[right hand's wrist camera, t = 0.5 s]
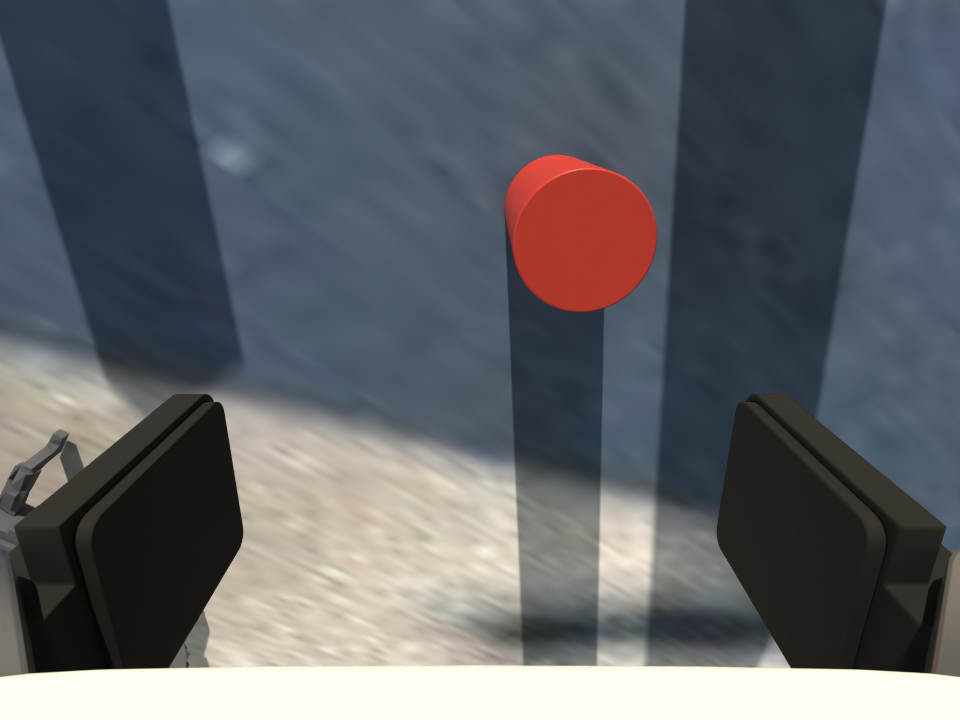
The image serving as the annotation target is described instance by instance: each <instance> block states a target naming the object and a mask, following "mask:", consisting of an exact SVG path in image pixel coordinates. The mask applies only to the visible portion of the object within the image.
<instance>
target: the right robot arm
mask: <svg viewBox="0 0 960 720" xmlns="http://www.w3.org/2000/svg"><path fill="white" fill-rule="evenodd" d="M14 530H15V533H16V536H17V539H18V542H19V544H18V545H17V546H16V547H15V548H14V549H13V550H11V551H10V552H9V553H7V552H6V551H5V550H3V549H0V720H960V549H957V550H955V551H954V552H953V553H951V552H950V551H949V550H947V549H946V548H945V547H944V546H943V545H942V544H941V542H942V539H943V536H944V533H945V530H946V526H945V525H944V524H943V523H941V522H940V521H939V520H938V519H937V518H935V517H934V516H933V515H932V514H930V513H929V512H928V511H927V510H926V509H924V508H923V507H922V506H921V505H920V504H918V503H917V502H916V501H915V500H913V499H912V498H911V497H910V496H909V495H907V494H906V493H905V492H904V491H903V490H901V489H900V488H899V487H898V486H896V485H895V484H894V483H893V482H892V481H890V480H889V479H888V478H887V477H886V476H884V475H883V474H882V473H881V472H879V471H878V470H877V469H876V468H875V467H873V466H872V465H871V464H870V463H869V462H867V461H866V460H865V459H864V458H862V457H861V456H860V455H859V454H858V453H856V452H855V451H854V450H853V449H852V448H850V447H849V446H848V445H847V444H845V443H844V442H843V441H842V440H841V439H839V438H838V437H837V436H836V435H835V434H833V433H832V432H831V431H830V430H828V429H827V428H826V427H825V426H824V425H822V424H821V423H820V422H819V421H818V420H816V419H815V418H814V417H813V416H811V415H810V414H809V413H808V412H807V411H805V410H804V409H803V408H802V407H801V406H799V405H798V404H797V403H796V402H794V401H793V400H792V399H791V398H790V397H788V396H787V395H785V394H753V395H750V396H749V397H748V399H747V401H746V402H741V403H739V404H738V406H737V409H736V413H735V419H734V425H733V432H732V438H731V444H730V450H729V456H728V462H727V469H726V475H725V481H724V487H723V493H722V499H721V505H720V512H719V518H718V524H717V539H718V543H719V546H720V549H721V551H722V552H723V554H724V556H725V557H726V559H727V561H728V562H729V564H730V566H731V567H732V569H733V571H734V572H735V574H736V576H737V578H738V579H739V581H740V583H741V584H742V586H743V588H744V589H745V591H746V593H747V594H748V596H749V598H750V600H751V601H752V603H753V605H754V606H755V608H756V610H757V611H758V613H759V615H760V616H761V618H762V620H763V621H764V623H765V625H766V627H767V628H768V630H769V632H770V633H771V635H772V637H773V638H774V640H775V642H776V643H777V645H778V647H779V648H780V650H781V652H782V654H783V655H784V657H785V659H786V660H787V662H788V664H789V665H790V667H791V668H749V667H696V666H486V665H474V666H264V667H211V668H169V667H170V665H171V664H172V662H173V660H174V659H175V657H176V655H177V654H178V652H179V650H180V648H181V647H182V645H183V643H184V642H185V640H186V638H187V637H188V635H189V633H190V632H191V630H192V628H193V626H194V625H195V623H196V621H197V620H198V618H199V616H200V615H201V613H202V611H203V610H204V608H205V606H206V605H207V603H208V601H209V599H210V598H211V596H212V594H213V593H214V591H215V589H216V588H217V586H218V584H219V583H220V581H221V579H222V578H223V576H224V574H225V572H226V571H227V569H228V567H229V566H230V564H231V562H232V561H233V559H234V557H235V556H236V554H237V552H238V550H239V549H240V546H241V543H242V539H243V524H242V518H241V512H240V506H239V499H238V493H237V487H236V481H235V475H234V469H233V462H232V456H231V450H230V444H229V438H228V432H227V425H226V419H225V413H224V409H223V406H222V404H221V403H219V402H214V401H213V399H212V397H211V396H210V395H207V394H175V395H173V396H172V397H170V398H169V399H168V400H167V401H166V402H164V403H163V404H162V405H161V406H159V407H158V408H157V409H156V410H155V411H153V412H152V413H151V414H150V415H149V416H147V417H146V418H145V419H144V420H142V421H141V422H140V423H139V424H138V425H136V426H135V427H134V428H133V429H132V430H130V431H129V432H128V433H127V434H125V435H124V436H123V437H122V438H121V439H119V440H118V441H117V442H116V443H115V444H113V445H112V446H111V447H110V448H108V449H107V450H106V451H105V452H104V453H102V454H101V455H100V456H99V457H98V458H96V459H95V460H94V461H93V462H91V463H90V464H89V465H88V466H87V467H85V468H84V469H83V470H82V471H80V472H79V473H78V474H77V475H76V476H74V477H73V478H72V479H71V480H70V481H68V482H67V483H66V484H65V485H63V486H62V487H61V488H60V489H59V490H57V491H56V492H55V493H54V494H53V495H51V496H50V497H49V498H48V499H46V500H45V501H44V502H43V503H42V504H40V505H39V506H38V507H37V508H36V509H34V510H33V511H32V512H31V513H29V514H28V515H27V516H26V517H25V518H23V519H22V520H21V521H20V522H19V523H17V524H16V525H15V526H14Z"/></svg>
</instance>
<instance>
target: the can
mask: <svg viewBox="0 0 960 720" xmlns="http://www.w3.org/2000/svg"><path fill="white" fill-rule="evenodd" d="M505 219H506V224H507V229H508V233H509V238H510V243H511V247H512V252H513V256H514V261H515V264H516V267H517V270H518V273H519V275H520V277H521V279H522V280H523V282H524V283H525V285H526V286H527V287H528V288H529V290H530V291H531V292H532V293H533V294H534V295H535V296H537V297H538V298H539V299H540V300H542V301H543V302H545V303H547V304H549V305H551V306H553V307H555V308H558V309H561V310H565V311H571V312H590V311H595V310H600V309H603V308H606V307H609V306H611V305H613V304H615V303H617V302H618V301H620V300H622V299H623V298H625V297H626V296H627V295H628V294H630V293H631V292H632V291H633V290H634V289H635V288H636V287H637V286H638V285H639V283H640V282H641V281H642V280H643V278H644V277H645V275H646V273H647V272H648V270H649V268H650V266H651V263H652V261H653V258H654V254H655V250H656V244H657V227H656V221H655V217H654V213H653V211H652V208H651V206H650V204H649V202H648V200H647V199H646V197H645V196H644V194H643V193H642V192H641V190H640V189H639V188H638V187H637V186H636V185H634V184H633V183H632V182H631V181H629V180H628V179H627V178H625V177H623V176H621V175H619V174H617V173H615V172H612V171H609V170H606V169H604V168H601V167H598V166H595V165H593V164H590V163H587V162H585V161H582V160H579V159H576V158H573V157H570V156H565V155H550V156H546V157H542V158H539V159H537V160H535V161H533V162H531V163H530V164H528V165H527V166H525V167H524V168H523V169H522V170H521V171H520V172H519V173H518V174H517V176H516V177H515V178H514V180H513V181H512V183H511V185H510V187H509V189H508V192H507V195H506V200H505Z"/></svg>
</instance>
